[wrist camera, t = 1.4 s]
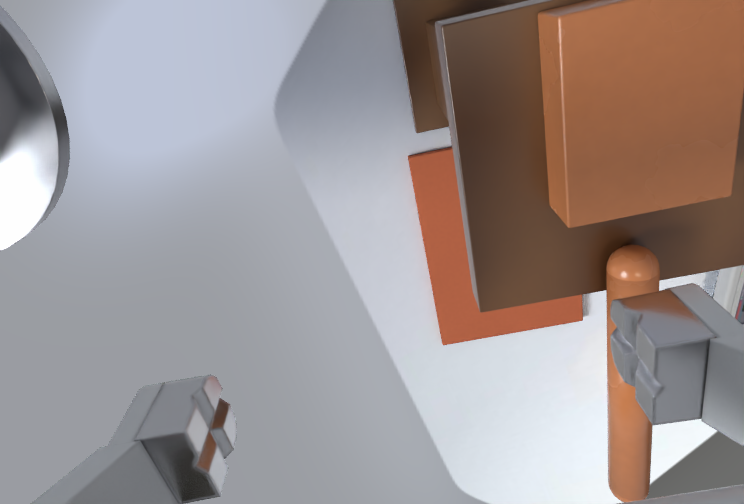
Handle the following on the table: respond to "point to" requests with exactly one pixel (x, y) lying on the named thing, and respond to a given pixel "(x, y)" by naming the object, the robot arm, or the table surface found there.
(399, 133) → the table surface
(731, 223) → the brown wooden pedestal
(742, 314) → the handheld gaming device
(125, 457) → the robot arm
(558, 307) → the terracotta mat
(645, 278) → the square head mallet
